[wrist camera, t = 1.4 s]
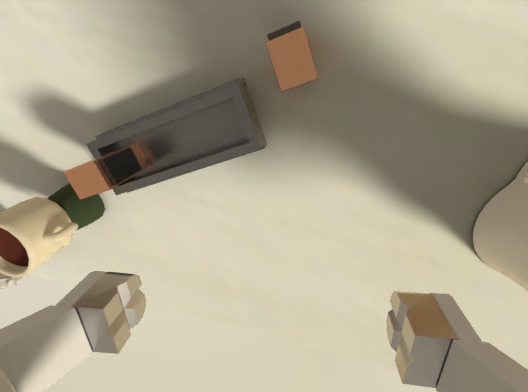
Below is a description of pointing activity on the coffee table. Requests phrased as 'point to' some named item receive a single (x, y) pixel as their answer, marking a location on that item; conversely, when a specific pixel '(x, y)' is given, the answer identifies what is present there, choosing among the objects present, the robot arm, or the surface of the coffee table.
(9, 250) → the character mug
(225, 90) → the dark grey tray
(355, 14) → the coffee table surface
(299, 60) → the orange block
